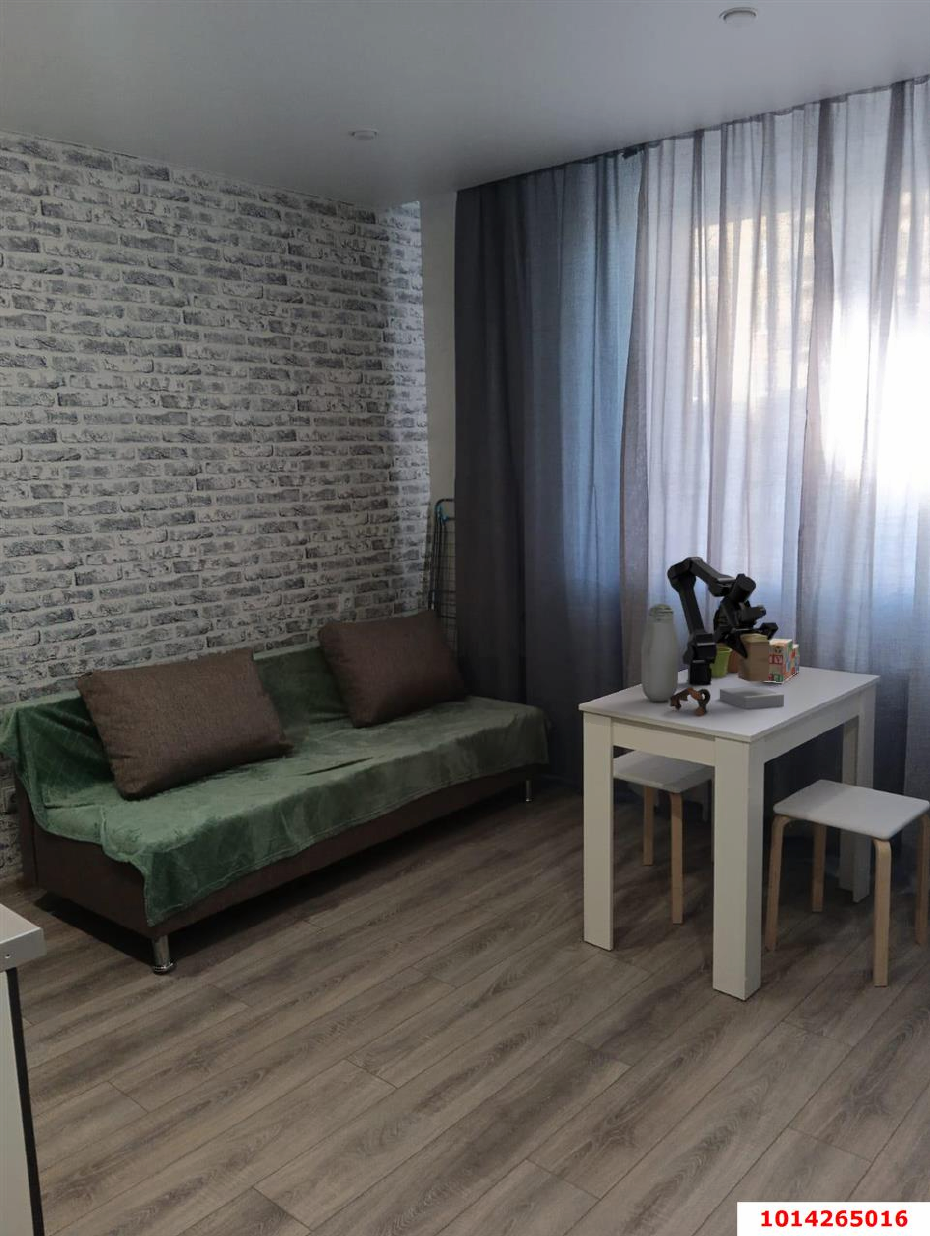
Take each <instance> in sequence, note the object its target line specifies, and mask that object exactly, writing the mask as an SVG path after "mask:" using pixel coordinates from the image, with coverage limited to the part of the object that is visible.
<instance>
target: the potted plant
mask: <svg viewBox="0 0 930 1236" xmlns="http://www.w3.org/2000/svg"><path fill="white" fill-rule="evenodd" d="M750 602H751V601H750V600H749V599H748V600H747V602H745V603H743V605H744V607H745V608H748V607H752V605H751V603H750ZM727 620H728V619H727V616H726V614H725V612H724V610H718V609H716V610H715V613H714V616H713V619H712V623H713V624H712V626H713V628H712V629H713V631H712V634H714V633H715V631H716V629H717V628H718V626H719V625H727V623H726V622H727ZM740 637H741V640H742V636H740ZM716 647H725V648H730V647H728V646H725V645H724V644H717V645H716ZM730 649H731V648H730ZM738 665H739V653H737V652H736V651H734V650H733V649H732V651H731V652H730V656H729V660H728V665H727V671H730V672H729V673H738Z"/></svg>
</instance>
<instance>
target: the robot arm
mask: <svg viewBox="0 0 930 1236" xmlns="http://www.w3.org/2000/svg"><path fill="white" fill-rule="evenodd" d="M666 576H667V579H668V581H669V583H670V587H671V588H672V589H674V591H676V593H677V594H678V596H679V597H678V598H679V600H680V604H681V608H682V611H683V615H684V618H685V622H686V626H687V629H688V630H687V631H688V634H689V637H688V639H687V643H686V647H687V649H686V650H685V651H684V654H683V655H682V663H683V664H685V665H687V679H686V682H687V684H689V685H690V686H696V685H697V686H698V685H702V686H703V685H706V686H707V685H709V686H710V685H712V681H713V680H712V677H713V676H712V669H711V668H710V664H715V659H716V655H717V647H716V645H717V644H724V645H725V646H728V647H730V648H731V649H733V650H734V651H736V652H737V653H739V654H740V655H741V656H743V657H744V658H747V657H748V655H747V652H746V650H745V648H744V645H743V643H742V641H741V637H740V636H742V635H744V634H761V635H764V636H767V641H771V640H772V639H773V637H774V636H775V634H776V633H777V632H778V631H779V629H780V628H779V626H778V624H777V623H776V622H775V621H768V622H766V621H765V622H764V621H763V622H762V623H761V624H760V626H759V627H754V626H756V625H757V624H758V620H760V619H763V617H765V616H766V615H767V609H766V607H765V606H764V604H757V605H756V606H751V607H748V608H745V607H744V605H743V603H745V602H747V600H749V599H750V597H751V596H752V594H753V593H754V592H755V590H756V588H757V583H756V582H755V580H753V579H752V578H751V577H749V576H746V573H744V572H743V573H737V575H736V576H735V577H734V576H731V575H729V574H724V573H721V572H719V571H718V570H716V569H715V568H713V567H712V566H711V565H710V564H708V563H707V562H706V561H704V560H703V557H700V556H688V557H686V558H684V559H683V560H682V561H678V562H676V563H675V564H672V565H671V566H670V567H669V568H668V569H667V572H666ZM697 578H699V579H700V581H702V582H703V583H705V584H706V585H707V586H708V587H707V590H708V592H709V593H710V594H711V596H712V597H714V598H722V599H721V600H720V601H719V605H718V607H717V610H724V612H725V614H726V616H727V619H728V620H727V622H726V623H727V625H719V626H718V628H717V629H716V631H715V633H714V634H713V632H708V631H707V630H706V627H705V625H704V622H703V618H702V614H701V610H700V606H699V603H698V599H697V595H696V592H695V591H696V590H695V585H696V583H697Z"/></svg>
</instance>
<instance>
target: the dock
mask: <svg viewBox="0 0 930 1236" xmlns="http://www.w3.org/2000/svg"><path fill="white" fill-rule="evenodd" d="M719 700H721V701H724V702H726V703H729V704H731V705H734V706H737V707H740V708H742V709H745V710H750V709H761V708H763V709H764V708H771V707H773V708H774V707H783V706H784V705H785V704H784V703H785V693H782V692H781V693H779V692H776V691H774V690H773V691H772V690H770V689H768V688H763V687H761V686H758V685H752V686H751V685H750V686H739V687H737V686H736V687H728V688H727V687H726V688H719Z"/></svg>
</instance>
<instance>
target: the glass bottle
mask: <svg viewBox="0 0 930 1236" xmlns="http://www.w3.org/2000/svg"><path fill="white" fill-rule="evenodd" d="M646 615H647V618H646V619H647V620H646V625H645V630H644V634H643V637H642V642H641V648H640V649H641V653H640V656H641V657H640V658H641V687H642V691H643V693H644V696H645V697H646V698H647V699H648V700H650V701H654V702H659V703H660V702H665V701H670V699H669V698H670V697H671V696H673V695H675V694H676V693H677V690H678V684H679V660H680V659H679V658H680V657H679V654H680V653H679V652H680V648H679V647H680V646H679V641H678V635H677V631H676V626H675V613H674V610H673V607H671V605H669V604H667V603H658V604H657V603H656V604H654V605H652V606H651V607H649V609H648V611H647V614H646Z"/></svg>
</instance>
